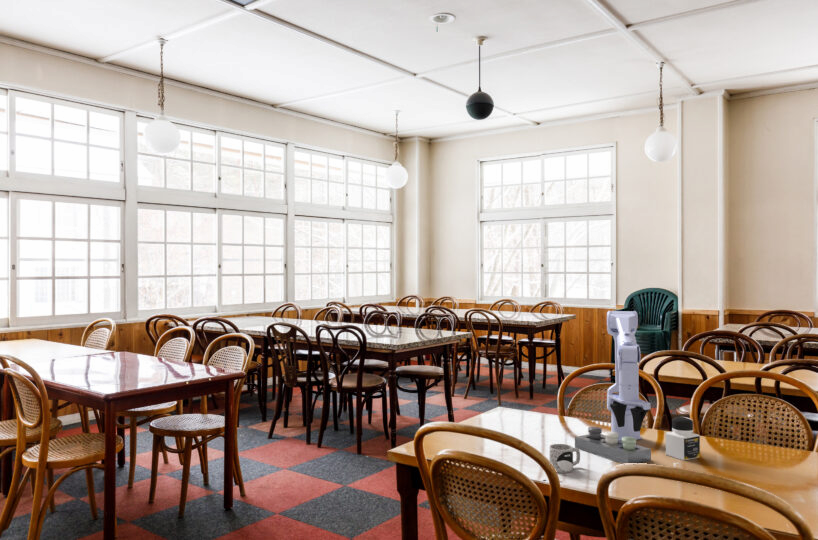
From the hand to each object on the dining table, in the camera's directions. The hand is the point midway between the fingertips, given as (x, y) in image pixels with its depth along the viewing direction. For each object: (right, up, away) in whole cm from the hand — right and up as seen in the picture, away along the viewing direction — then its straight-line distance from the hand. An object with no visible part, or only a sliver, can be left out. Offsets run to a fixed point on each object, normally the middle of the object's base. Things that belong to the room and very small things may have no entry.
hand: (628, 428), depth 194 cm
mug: (-22, -10, -9) cm, 25 cm away
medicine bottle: (+18, -10, +3) cm, 20 cm away
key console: (-3, -9, +6) cm, 12 cm away
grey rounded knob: (-7, -7, +12) cm, 16 cm away
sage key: (0, -7, 0) cm, 7 cm away
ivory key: (-3, -7, +6) cm, 10 cm away
